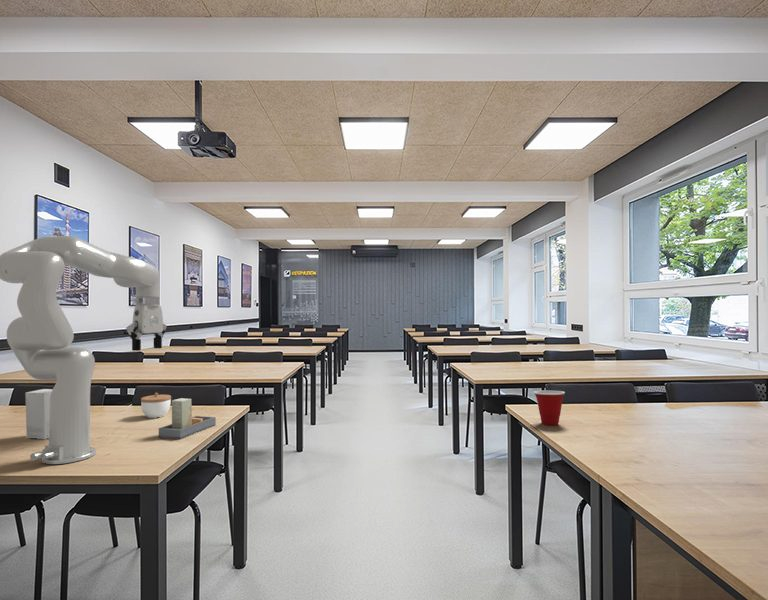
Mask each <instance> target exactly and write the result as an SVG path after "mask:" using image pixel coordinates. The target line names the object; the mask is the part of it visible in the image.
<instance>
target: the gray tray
mask: <svg viewBox="0 0 768 600" xmlns="http://www.w3.org/2000/svg"><path fill="white" fill-rule="evenodd" d="M192 418H202V419H203V421H201V422H199V423H196V424H193V425H190V426H188V427H185V428H182V429H172V423H171V424H168V425H164V426H161V427H159V428H158V438H160V437H161V439H171V438H173V439H174V440H182V439H184V437H185V438H187V437H189V435H190V436H192V435H194V433H195V434H197V433H200V432H202V430H203V431H206V430H207V428H208V429H209V428H212V426H213V427H215V426H216V422H217V421H216V418H217V417H216V416H203V415H195V416H192ZM199 431H200V432H199ZM196 432H197V433H196ZM191 434H192V435H191ZM186 436H187V437H186ZM173 439H172V440H173Z"/></svg>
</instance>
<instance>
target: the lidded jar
mask: <svg viewBox="0 0 768 600" xmlns="http://www.w3.org/2000/svg"><path fill="white" fill-rule="evenodd" d="M140 402H141V407H140V408H141V412H142V413H143V414H144V415H145V417H148V418H147V419H158V418H157V417H160V418H163V417H165V416H164V415H167V414H168V412H169V410H170V409H171V408H170V407H171V405H172V395H170V394H159V393H158V392H155V393H154V394H153V395H147V396H143V397H141V398H140ZM162 416H163V417H162Z"/></svg>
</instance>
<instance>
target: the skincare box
mask: <svg viewBox="0 0 768 600" xmlns="http://www.w3.org/2000/svg"><path fill="white" fill-rule="evenodd" d="M52 390H53V388H52V389H51V388H42V389H36V390H32V391H28V392H27V391H26V392H25V394H24V395H25V426H26V429H25V431H26V438H27V437H28V438H27V439H30V438H37V439H36V440H48V439H49V410H50V405H49V403H50V395H51V392H52ZM47 438H48V439H47Z"/></svg>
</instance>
